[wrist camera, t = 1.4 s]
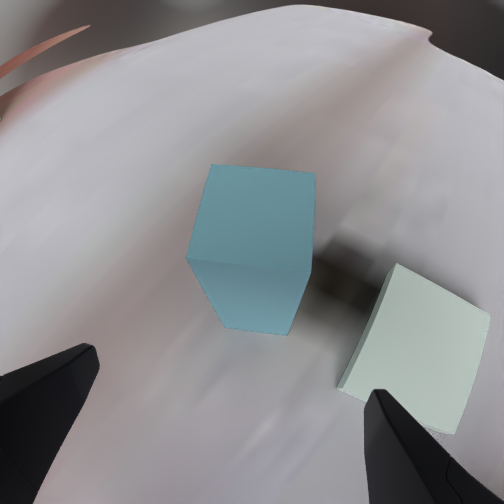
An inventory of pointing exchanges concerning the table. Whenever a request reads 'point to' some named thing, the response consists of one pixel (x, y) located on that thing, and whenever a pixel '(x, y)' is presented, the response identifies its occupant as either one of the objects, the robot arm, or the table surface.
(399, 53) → the table surface
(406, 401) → the base tile
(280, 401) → the table surface
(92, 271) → the table surface
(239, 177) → the teal pillar
